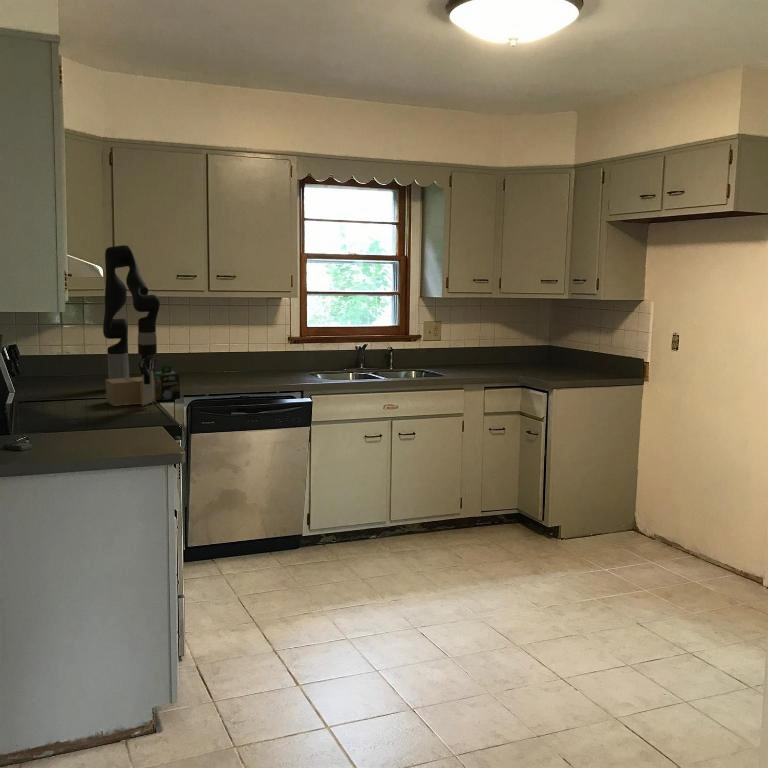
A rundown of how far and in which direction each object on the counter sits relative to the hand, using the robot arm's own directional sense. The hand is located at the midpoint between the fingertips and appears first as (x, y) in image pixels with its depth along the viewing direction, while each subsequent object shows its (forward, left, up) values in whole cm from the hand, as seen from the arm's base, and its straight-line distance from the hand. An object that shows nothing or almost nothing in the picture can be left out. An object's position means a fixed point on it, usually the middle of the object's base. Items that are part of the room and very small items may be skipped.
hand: (148, 383), depth 348 cm
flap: (-2, +2, -10) cm, 10 cm away
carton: (-14, -4, -10) cm, 17 cm away
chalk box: (-18, +13, -10) cm, 24 cm away
